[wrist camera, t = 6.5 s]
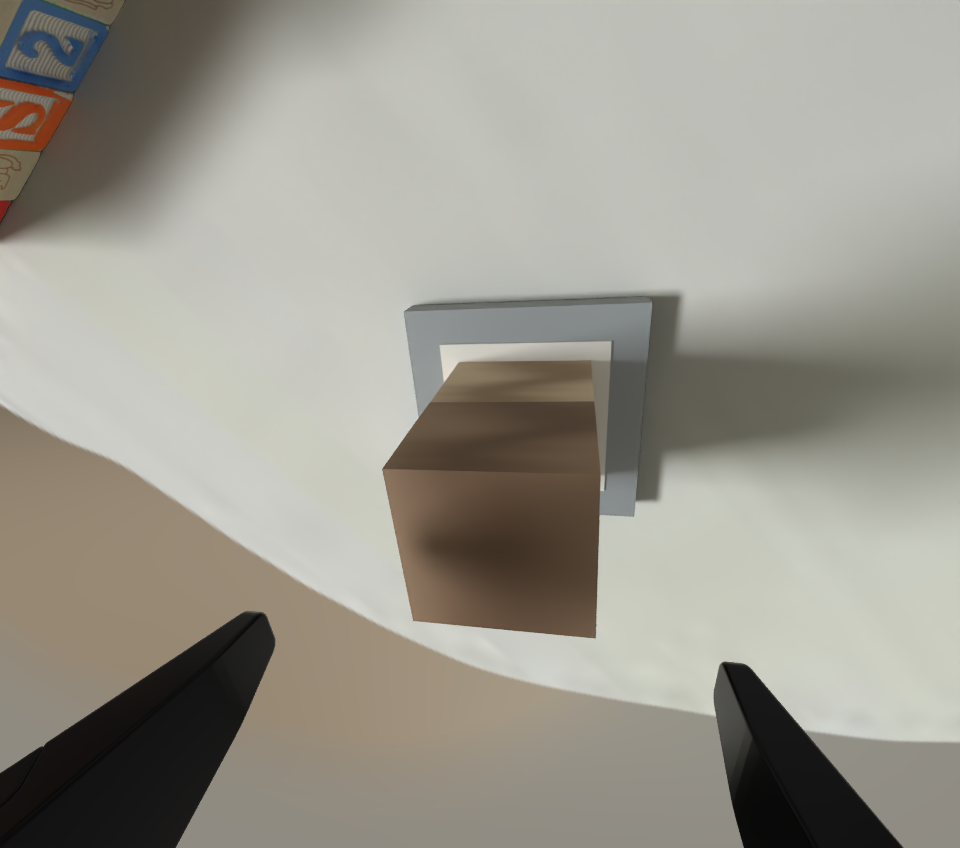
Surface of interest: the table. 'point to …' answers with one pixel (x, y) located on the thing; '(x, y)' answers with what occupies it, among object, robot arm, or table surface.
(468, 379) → the oak block
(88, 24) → the stack of blocks
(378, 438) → the table surface
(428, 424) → the walnut block
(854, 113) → the table surface
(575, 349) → the grey flat square
